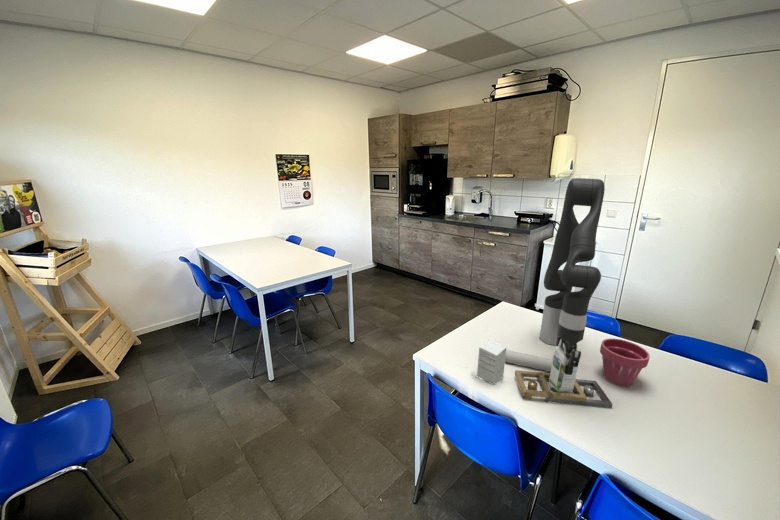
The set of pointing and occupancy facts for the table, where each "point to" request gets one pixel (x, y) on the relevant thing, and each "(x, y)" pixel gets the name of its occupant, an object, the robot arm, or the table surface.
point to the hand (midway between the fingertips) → (564, 367)
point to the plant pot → (622, 361)
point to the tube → (528, 360)
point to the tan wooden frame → (545, 387)
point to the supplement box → (491, 362)
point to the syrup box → (561, 372)
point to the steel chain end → (588, 391)
